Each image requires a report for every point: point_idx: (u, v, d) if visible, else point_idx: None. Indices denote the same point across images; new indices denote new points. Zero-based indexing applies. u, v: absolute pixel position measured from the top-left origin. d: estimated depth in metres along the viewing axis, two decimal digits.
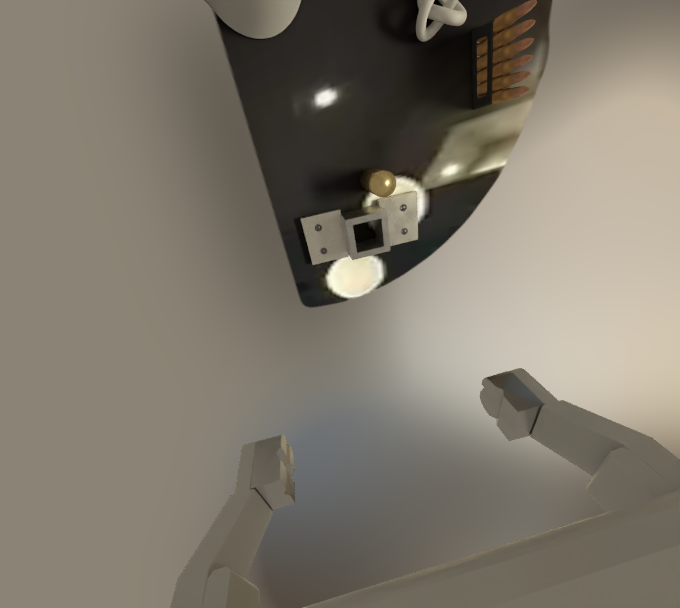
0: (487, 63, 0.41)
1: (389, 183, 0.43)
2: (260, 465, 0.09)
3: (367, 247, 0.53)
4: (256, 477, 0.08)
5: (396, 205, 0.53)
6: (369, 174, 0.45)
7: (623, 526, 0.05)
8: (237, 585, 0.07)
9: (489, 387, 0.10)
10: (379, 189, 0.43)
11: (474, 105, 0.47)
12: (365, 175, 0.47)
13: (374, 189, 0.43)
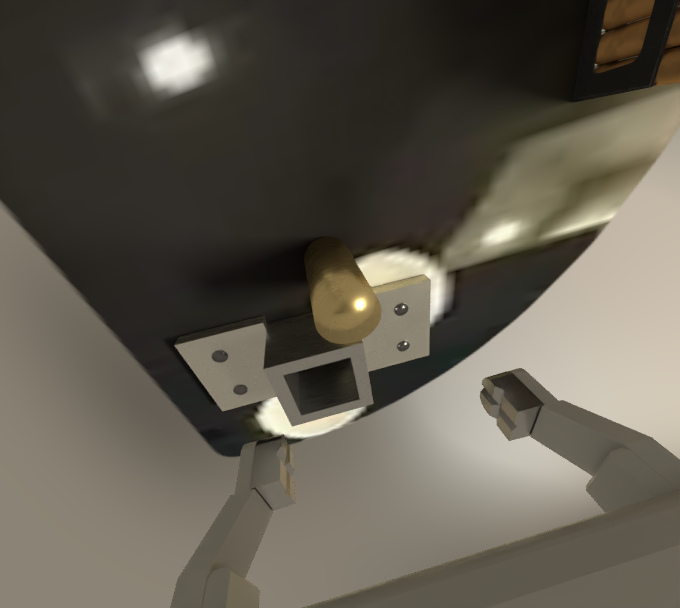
0: None
1: (363, 314, 0.15)
2: (260, 465, 0.09)
3: (326, 395, 0.25)
4: (256, 477, 0.08)
5: (387, 306, 0.25)
6: (314, 272, 0.17)
7: (623, 526, 0.05)
8: (237, 585, 0.07)
9: (489, 387, 0.10)
10: (335, 329, 0.15)
11: (581, 90, 0.19)
12: (309, 265, 0.19)
13: (320, 330, 0.15)
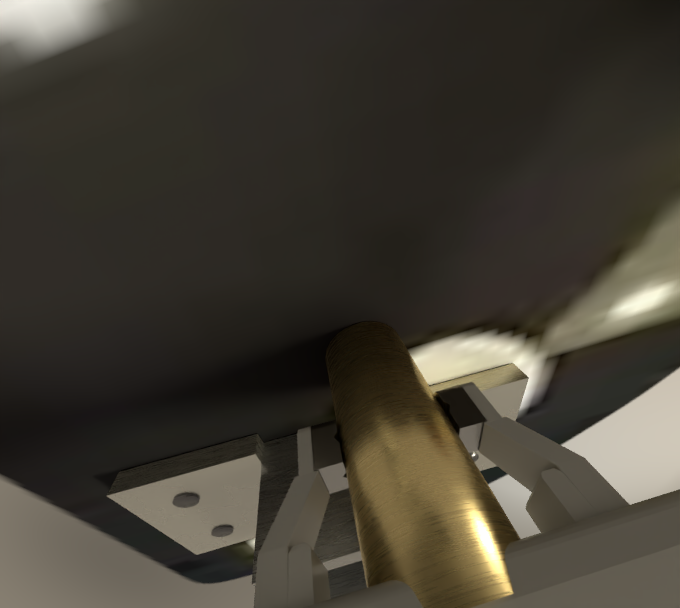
0: None
1: None
2: (320, 448, 0.09)
3: None
4: (318, 459, 0.08)
5: None
6: (358, 437, 0.08)
7: (623, 526, 0.05)
8: (315, 561, 0.07)
9: (439, 401, 0.10)
10: None
11: None
12: (341, 398, 0.10)
13: None
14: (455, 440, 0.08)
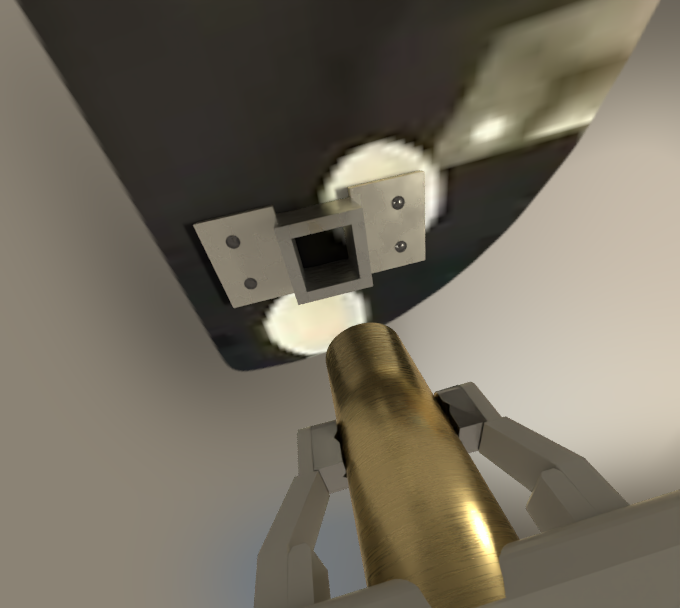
0: None
1: None
2: (319, 448, 0.09)
3: (329, 279, 0.27)
4: (318, 459, 0.08)
5: (385, 198, 0.27)
6: (358, 438, 0.08)
7: (623, 526, 0.05)
8: (315, 561, 0.07)
9: (439, 401, 0.10)
10: None
11: None
12: (342, 399, 0.10)
13: None
14: (455, 442, 0.08)
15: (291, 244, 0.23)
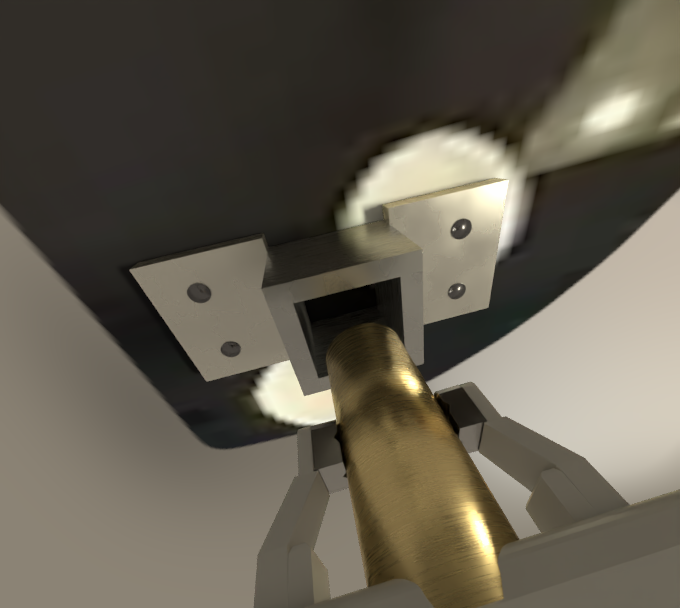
0: None
1: None
2: (319, 448, 0.09)
3: None
4: (318, 459, 0.08)
5: (443, 222, 0.17)
6: (358, 439, 0.08)
7: (623, 526, 0.05)
8: (315, 561, 0.07)
9: (439, 401, 0.10)
10: None
11: None
12: (342, 399, 0.10)
13: None
14: (455, 442, 0.08)
15: (293, 312, 0.13)
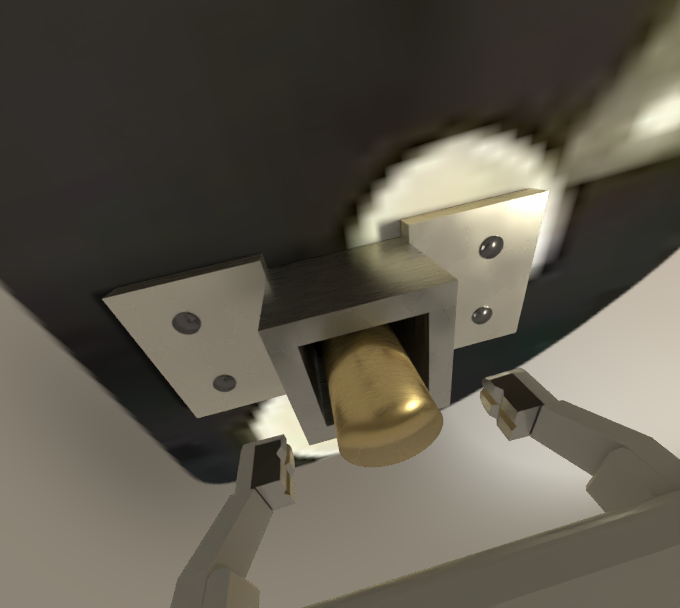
0: None
1: (414, 430, 0.10)
2: (260, 465, 0.09)
3: None
4: (256, 477, 0.08)
5: (471, 240, 0.15)
6: (333, 347, 0.12)
7: (623, 526, 0.05)
8: (237, 585, 0.07)
9: (489, 387, 0.10)
10: (369, 451, 0.10)
11: None
12: None
13: (347, 454, 0.10)
14: (397, 346, 0.12)
15: (298, 356, 0.11)
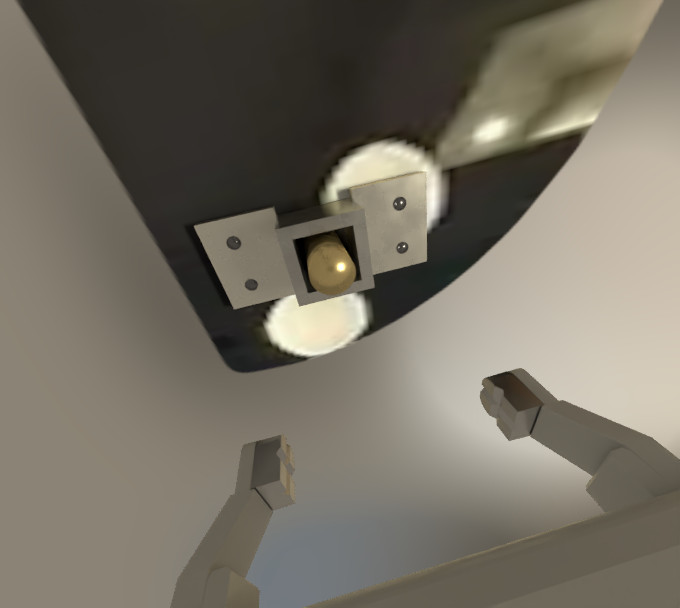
0: None
1: (343, 272, 0.22)
2: (260, 465, 0.09)
3: None
4: (256, 477, 0.08)
5: (387, 199, 0.27)
6: (310, 246, 0.24)
7: (623, 526, 0.05)
8: (237, 585, 0.07)
9: (489, 387, 0.10)
10: (323, 282, 0.22)
11: None
12: (307, 244, 0.26)
13: (313, 283, 0.22)
14: (340, 244, 0.24)
15: (292, 245, 0.23)
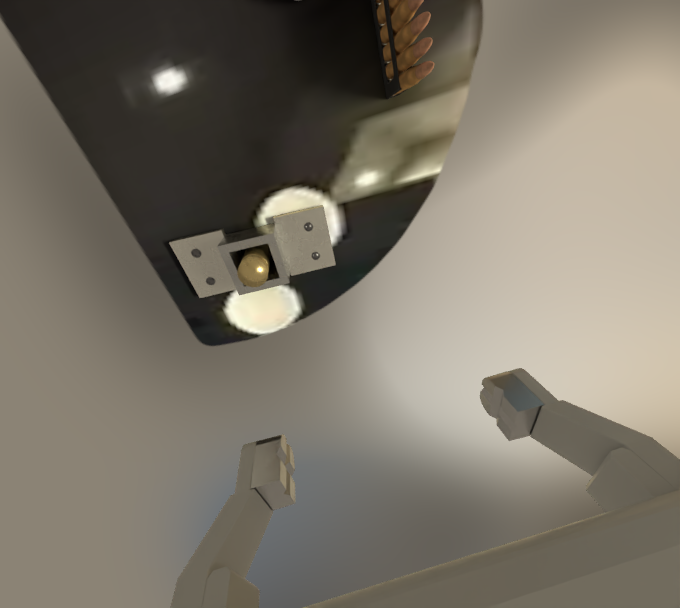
0: (387, 31, 0.29)
1: (259, 273, 0.36)
2: (260, 465, 0.09)
3: None
4: (256, 477, 0.08)
5: (299, 224, 0.41)
6: (243, 256, 0.38)
7: (623, 526, 0.05)
8: (237, 585, 0.07)
9: (489, 387, 0.10)
10: (247, 279, 0.36)
11: (387, 92, 0.35)
12: (244, 254, 0.40)
13: (241, 279, 0.36)
14: (261, 255, 0.38)
15: (229, 256, 0.37)
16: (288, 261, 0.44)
